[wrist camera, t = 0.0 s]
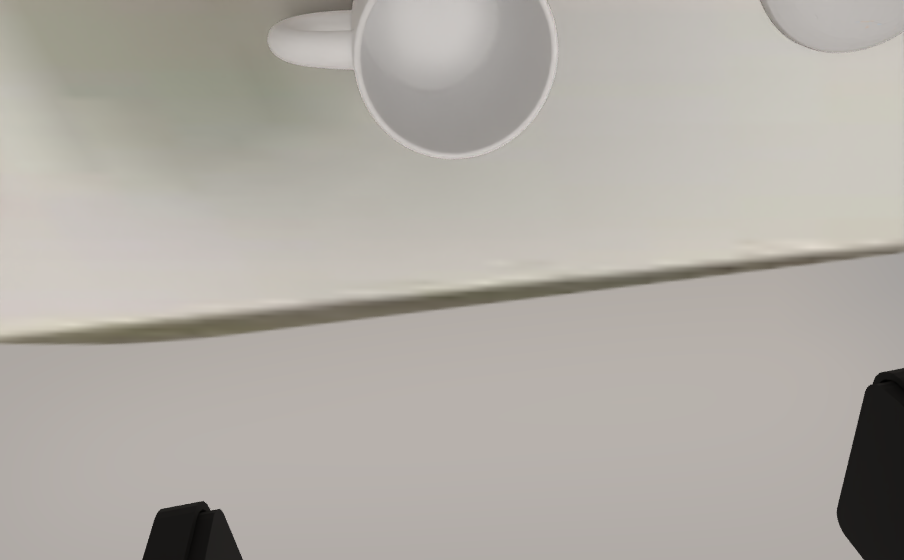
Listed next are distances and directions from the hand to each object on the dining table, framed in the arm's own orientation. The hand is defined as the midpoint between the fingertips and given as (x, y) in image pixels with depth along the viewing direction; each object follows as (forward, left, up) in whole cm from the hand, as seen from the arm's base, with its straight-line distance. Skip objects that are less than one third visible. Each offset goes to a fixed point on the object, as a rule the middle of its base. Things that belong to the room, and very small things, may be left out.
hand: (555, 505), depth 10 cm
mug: (-2, 0, -32) cm, 32 cm away
